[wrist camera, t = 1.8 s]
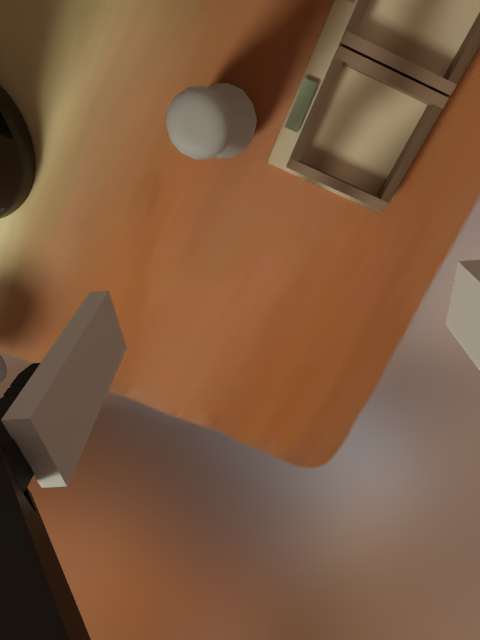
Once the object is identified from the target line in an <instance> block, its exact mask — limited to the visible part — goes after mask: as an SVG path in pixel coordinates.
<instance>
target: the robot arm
mask: <svg viewBox="0 0 480 640" xmlns="http://www.w3.org/2000/svg"><path fill="white" fill-rule="evenodd" d="M34 172H35V157H34V150H33V144H32V140H31V137H30V133H29V131H28V128H27V125H26V123H25V121H24V119H23V117H22V115H21V113H20V111H19V109H18V108H17V106H16V105H15V103H14V102H13V100H12V99H11V97H10V96H9V95H8V94H7V92H6V91H5V90H4V89H3V88H2V87H1V86H0V218H3V217H6V216H8V215H10V214H11V213H13V212H14V211H15V210H17V209H18V208H19V207H20V206H21V205H22V204H23V202H24V201H25V199H26V198H27V196H28V194H29V192H30V189H31V187H32V183H33V179H34ZM446 326H447V327H448V328H449V330H450V331H451V333H452V334H453V335H454V337H455V338H456V339H457V341H458V342H459V343H460V345H461V346H462V347H463V349H464V350H465V352H466V353H467V354H468V356H469V357H470V358H471V360H472V361H473V362H474V364H475V365H476V366H477V368H478V369H479V371H480V260H473V261H472V260H471V261H460V262H458V266H457V271H456V276H455V280H454V285H453V290H452V295H451V300H450V305H449V310H448V315H447V320H446ZM126 348H127V347H126V344H125V341H124V337H123V334H122V331H121V328H120V325H119V322H118V319H117V315H116V312H115V309H114V306H113V303H112V300H111V297H110V293H109V291H101V292H90V293H89V294H88V295H87V297H86V298H85V300H84V301H83V303H82V304H81V306H80V307H79V308H78V310H77V311H76V313H75V314H74V316H73V317H72V319H71V320H70V321H69V323H68V324H67V326H66V327H65V329H64V330H63V331H62V333H61V334H60V336H59V337H58V339H57V340H56V342H55V343H54V344H53V346H52V347H51V349H50V350H49V352H48V353H47V355H46V356H45V357H44V359H43V360H42V362H41V363H34V364H31V365H30V366H29V367H27V368H26V369H25V370H24V371H22V372H21V373H20V374H18V376H17V377H16V379H15V380H14V381H13V383H12V384H11V385H10V388H8V389H7V391H6V392H5V393H4V395H3V398H1V399H0V640H91V639H90V637H89V634H88V632H87V629H86V627H85V624H84V622H83V619H82V617H81V614H80V612H79V609H78V607H77V605H76V602H75V600H74V597H73V595H72V592H71V590H70V588H69V585H68V583H67V580H66V578H65V575H64V573H63V570H62V568H61V565H60V563H59V560H58V558H57V555H56V553H55V551H54V548H53V546H52V543H51V541H50V538H49V536H48V533H47V531H46V528H45V526H44V523H43V521H42V519H41V516H40V514H39V511H38V509H37V507H36V504H35V501H34V499H33V496H32V494H31V492H30V491H29V489H28V488H27V486H28V485H29V483H30V481H31V479H32V477H33V475H34V476H35V478H36V479H37V481H38V483H39V484H40V486H41V487H61V486H67V485H68V483H69V480H70V478H71V476H72V473H73V471H74V469H75V466H76V464H77V462H78V460H79V457H80V455H81V452H82V450H83V448H84V446H85V443H86V441H87V439H88V436H89V434H90V432H91V429H92V427H93V425H94V422H95V420H96V418H97V416H98V413H99V411H100V408H101V406H102V404H103V401H104V399H105V397H106V395H107V392H108V390H109V388H110V385H111V383H112V381H113V378H114V376H115V374H116V371H117V369H118V367H119V364H120V362H121V360H122V358H123V355H124V353H125V351H126Z"/></svg>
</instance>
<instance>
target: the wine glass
mask: <svg viewBox="0 0 480 640" xmlns="http://www.w3.org/2000/svg"><path fill="white" fill-rule="evenodd" d="M5 377H6V366H5V363H4V361H3V359H2V358H1V356H0V383H1V382H2V381H3V380H4V379H5Z"/></svg>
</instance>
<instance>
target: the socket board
mask: <svg viewBox="0 0 480 640" xmlns="http://www.w3.org/2000/svg"><path fill="white" fill-rule="evenodd" d="M479 46H480V0H334V2H333V5H332V7H331V9H330V12H329V14H328V17H327V19H326V22H325V24H324V26H323V29H322V31H321V34H320V36H319V39H318V41H317V43H316V46H315V48H314V51H313V53H312V56H311V58H310V61H309V63H308V65H307V68H306V70H305V73H304V75H303V78H302V80H301V82H300V85H299V87H298V90H297V92H296V95H295V97H294V99H293V102H292V104H291V107H290V109H289V112H288V114H287V116H286V119H285V121H284V124H283V126H282V129H281V131H280V133H279V136H278V138H277V141H276V143H275V146H274V148H273V150H272V153H271V155H270V158H269V160H268V163H269V164H271V165H273V166H276V167H278V168H280V169H282V170H284V171H287V172H289V173H291V174H293V175H295V176H298V177H300V178H302V179H304V180H307V181H309V182H311V183H313V184H315V185H318V186H320V187H322V188H324V189H326V190H329V191H331V192H333V193H335V194H337V195H340V196H342V197H344V198H346V199H348V200H351V201H353V202H355V203H357V204H360V205H362V206H364V207H366V208H368V209H371V210H373V211H375V212H377V213H378V212H379V211H380V210H382V211H384V210H385V209H386V207H387V205H388V203H389V202H390V200H391V198H392V196H393V195H394V193H395V191H396V190H397V188H398V186H399V184H400V183H401V181H402V179H403V177H404V176H405V174H406V172H407V170H408V169H409V167H410V165H411V164H412V162H413V160H414V158H415V157H416V155H417V153H418V151H419V150H420V148H421V146H422V145H423V143H424V141H425V139H426V138H427V136H428V134H429V132H430V131H431V129H432V127H433V125H434V124H435V122H436V120H437V119H438V117H439V115H440V113H441V112H442V110H443V108H444V106H445V105H446V103H447V101H448V100H449V98H448V97H446V96H451V94H452V93H453V91H454V89H455V87H456V86H457V84H458V82H459V80H460V79H461V77H462V75H463V74H464V72H465V70H466V68H467V67H468V65H469V63H470V61H471V60H472V58H473V56H474V55H475V53H476V51H477V49H478V48H479Z"/></svg>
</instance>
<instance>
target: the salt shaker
mask: <svg viewBox="0 0 480 640" xmlns="http://www.w3.org/2000/svg"><path fill="white" fill-rule="evenodd" d="M256 123H257V117H256V114H255V110H254V106H253V103H252V101H251V100H250V99H249V97H248V96H247V95H246V93H245V92H244V91H243V89H241V88H238V87H236V86H234V85H232V84H229V83H216V84H211V85H210V86H208V87H205V86H198V87H188V88H187V89H185V90H184V91H182V92H181V93H180V94H178V95H177V96H175V97H174V99H173V101H172V103H171V105H170V106H169V108H168V110H167V123H166V127H167V130H168V133H169V137H170V140H171V142H172V143H173V144H174V145H175V147H176V148H177V149H178V150H179V151H180V152H181V153H183V154H185V155H187V156H189V157H191V158H193V159H195V160H199V159H210V158H212V157H216V158H232V157H234V156H236V155H238V154H239V153H241V152H243V151H244V150H246V148H247V147H248V145H249V144H250V142H251V141H252V139H253V137H254V134H255V129H256Z"/></svg>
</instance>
